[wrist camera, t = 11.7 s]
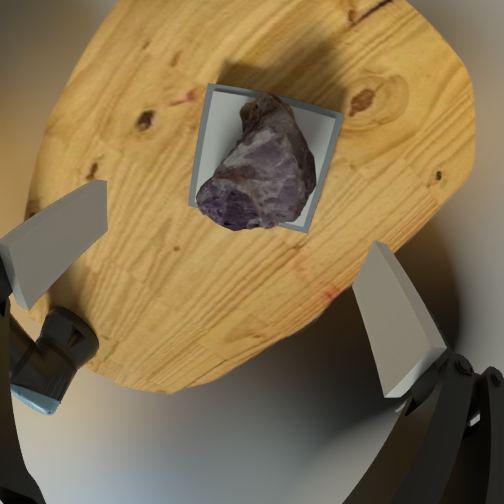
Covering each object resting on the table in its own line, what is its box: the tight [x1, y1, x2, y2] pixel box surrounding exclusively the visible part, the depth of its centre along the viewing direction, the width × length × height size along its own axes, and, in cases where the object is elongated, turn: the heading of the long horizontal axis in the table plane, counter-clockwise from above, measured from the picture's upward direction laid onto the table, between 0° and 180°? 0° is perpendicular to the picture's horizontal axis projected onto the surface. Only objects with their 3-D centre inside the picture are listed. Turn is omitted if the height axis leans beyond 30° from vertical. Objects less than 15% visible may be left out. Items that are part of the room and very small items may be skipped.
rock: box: [196, 93, 317, 231], centre depth 23 cm, size 12×9×10 cm
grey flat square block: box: [188, 83, 344, 233], centre depth 28 cm, size 14×14×3 cm
